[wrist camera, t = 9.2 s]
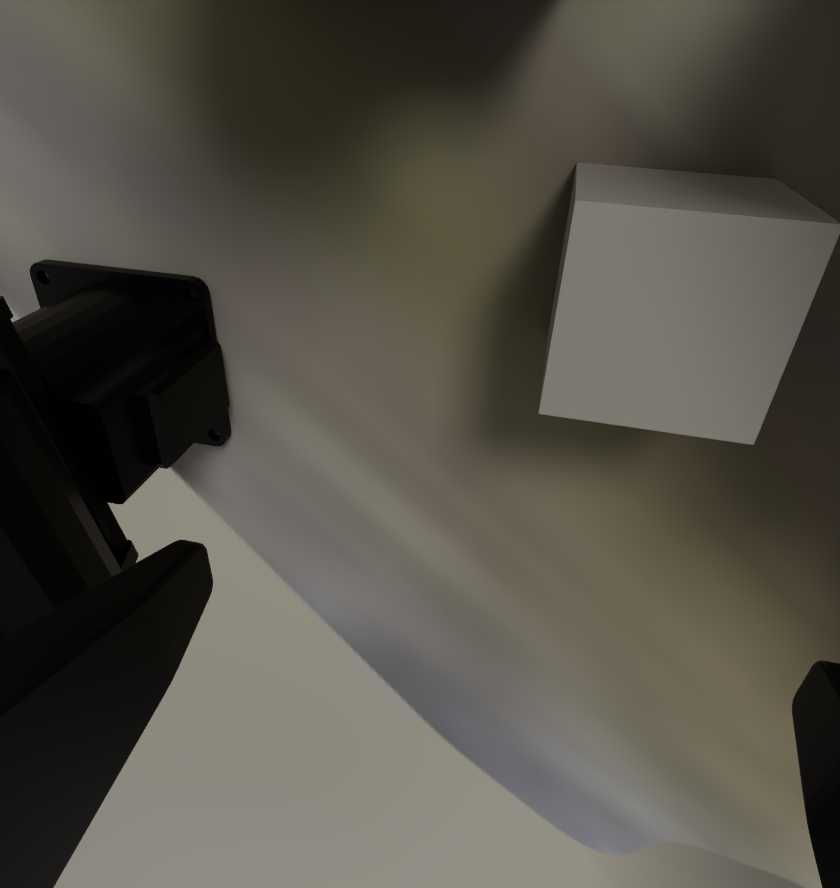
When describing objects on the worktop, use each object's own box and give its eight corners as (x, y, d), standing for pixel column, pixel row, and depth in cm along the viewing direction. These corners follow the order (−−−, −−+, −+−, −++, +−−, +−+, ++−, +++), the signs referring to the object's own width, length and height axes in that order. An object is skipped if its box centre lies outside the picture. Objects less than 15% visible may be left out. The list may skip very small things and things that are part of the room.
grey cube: (547, 335, 19) (538, 413, 15) (577, 161, 17) (575, 200, 12) (715, 356, 19) (753, 445, 14) (775, 178, 16) (843, 224, 12)
